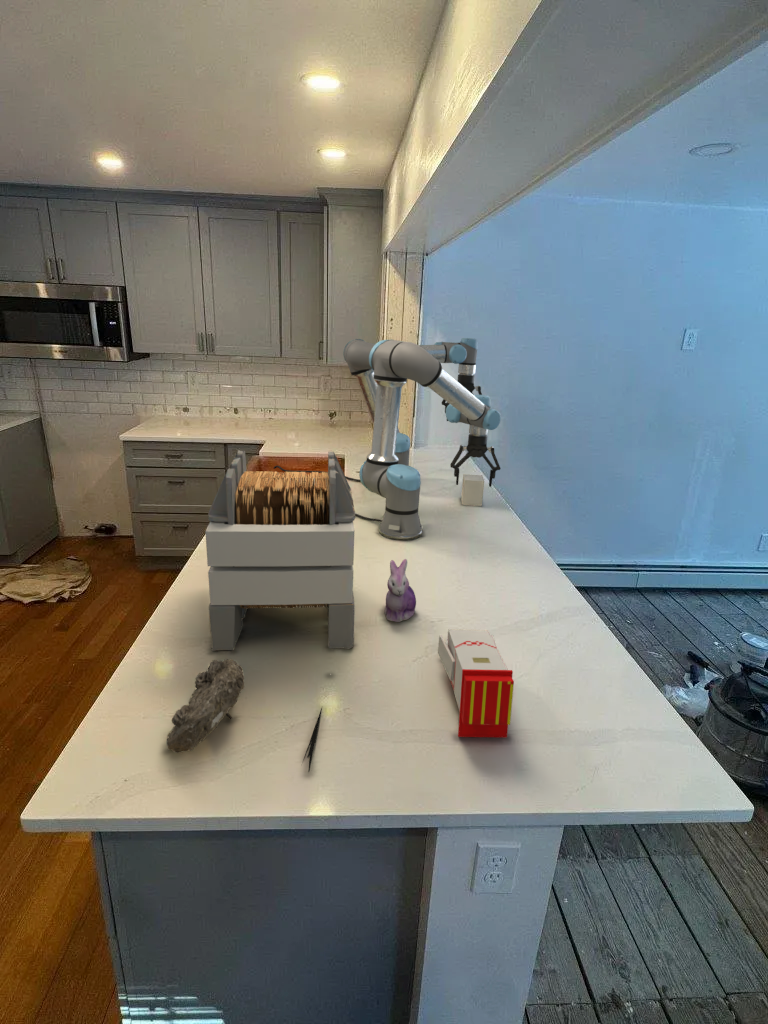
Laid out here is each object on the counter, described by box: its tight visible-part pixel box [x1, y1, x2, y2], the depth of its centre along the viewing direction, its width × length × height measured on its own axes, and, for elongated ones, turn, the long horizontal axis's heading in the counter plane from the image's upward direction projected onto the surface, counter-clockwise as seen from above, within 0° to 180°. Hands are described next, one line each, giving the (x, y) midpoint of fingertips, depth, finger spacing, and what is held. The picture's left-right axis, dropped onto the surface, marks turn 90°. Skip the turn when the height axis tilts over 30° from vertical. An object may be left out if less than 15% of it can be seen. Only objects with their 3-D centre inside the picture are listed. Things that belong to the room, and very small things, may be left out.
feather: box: [301, 673, 332, 771], centre depth 108 cm, size 2×28×2 cm
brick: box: [460, 473, 485, 507], centre depth 235 cm, size 9×8×11 cm
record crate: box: [204, 449, 356, 652], centre depth 138 cm, size 34×33×41 cm
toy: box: [437, 628, 515, 738], centre depth 117 cm, size 12×13×30 cm
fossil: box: [166, 658, 245, 754], centre depth 106 cm, size 22×10×15 cm
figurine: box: [384, 558, 417, 623], centre depth 145 cm, size 9×10×15 cm
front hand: (473, 485), depth 234 cm, fingers open, 13 cm apart
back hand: (462, 421), depth 261 cm, fingers open, 13 cm apart
